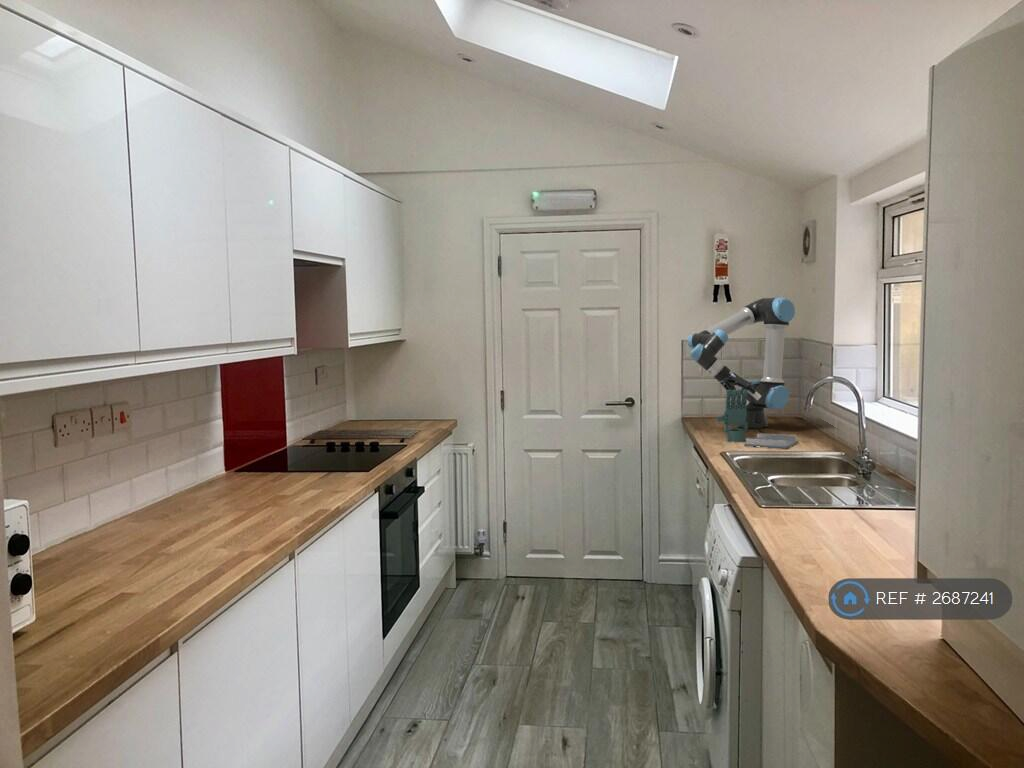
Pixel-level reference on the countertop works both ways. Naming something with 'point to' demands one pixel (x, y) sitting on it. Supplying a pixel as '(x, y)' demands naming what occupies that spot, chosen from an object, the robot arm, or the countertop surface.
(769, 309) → the robot arm
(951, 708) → the countertop surface
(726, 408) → the robotic hand
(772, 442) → the rail dock
